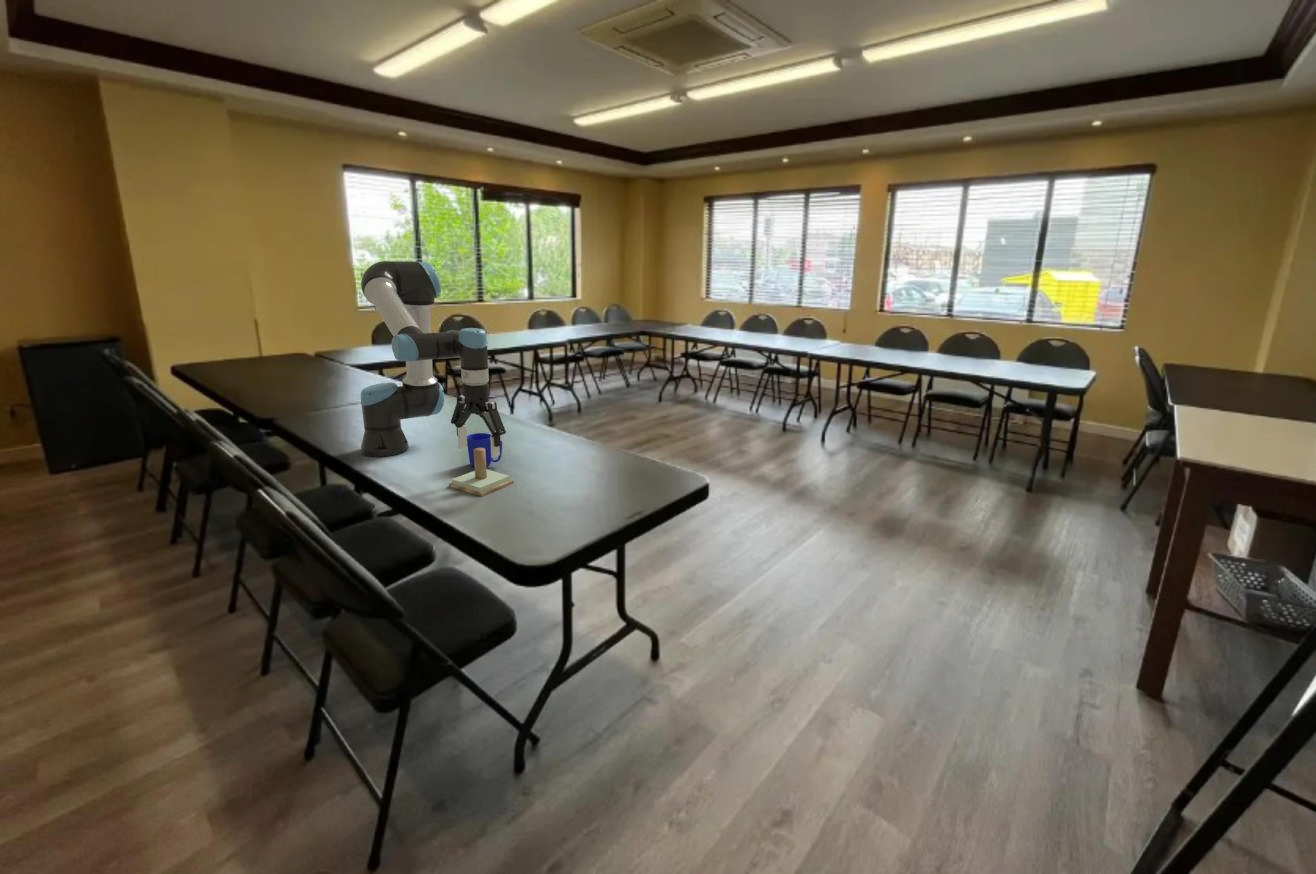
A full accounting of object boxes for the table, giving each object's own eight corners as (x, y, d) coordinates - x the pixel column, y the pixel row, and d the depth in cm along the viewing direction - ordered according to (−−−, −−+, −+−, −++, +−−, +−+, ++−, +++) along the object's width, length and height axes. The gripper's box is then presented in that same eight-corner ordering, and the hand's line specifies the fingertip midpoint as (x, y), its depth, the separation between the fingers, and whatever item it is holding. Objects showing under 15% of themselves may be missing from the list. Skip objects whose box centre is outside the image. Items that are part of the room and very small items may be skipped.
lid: (452, 483, 173) (449, 450, 170) (482, 472, 183) (480, 441, 180) (480, 492, 168) (478, 458, 164) (509, 480, 177) (508, 448, 174)
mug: (497, 471, 187) (495, 442, 184) (463, 467, 189) (461, 438, 186) (508, 463, 195) (507, 435, 192) (475, 459, 197) (474, 432, 194)
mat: (448, 486, 173) (448, 483, 173) (481, 473, 184) (481, 471, 184) (481, 496, 167) (481, 493, 167) (513, 482, 178) (513, 480, 177)
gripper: (435, 378, 169) (440, 446, 175) (497, 391, 157) (500, 463, 164) (455, 374, 175) (459, 440, 182) (516, 386, 164) (518, 456, 170)
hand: (479, 451), depth 173 cm, fingers open, 13 cm apart
